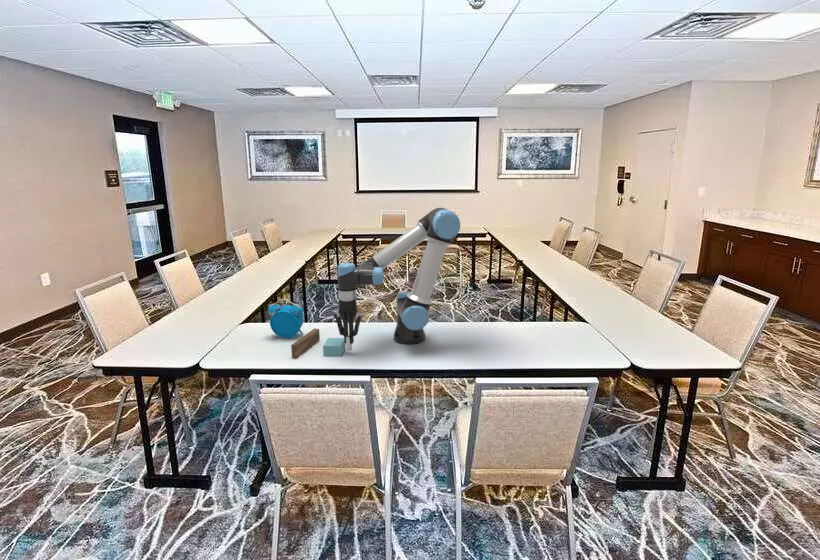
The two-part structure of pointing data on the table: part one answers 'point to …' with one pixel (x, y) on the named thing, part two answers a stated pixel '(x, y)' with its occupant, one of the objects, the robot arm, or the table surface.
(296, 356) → the board
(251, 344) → the table surface
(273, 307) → the alarm clock
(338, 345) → the block
